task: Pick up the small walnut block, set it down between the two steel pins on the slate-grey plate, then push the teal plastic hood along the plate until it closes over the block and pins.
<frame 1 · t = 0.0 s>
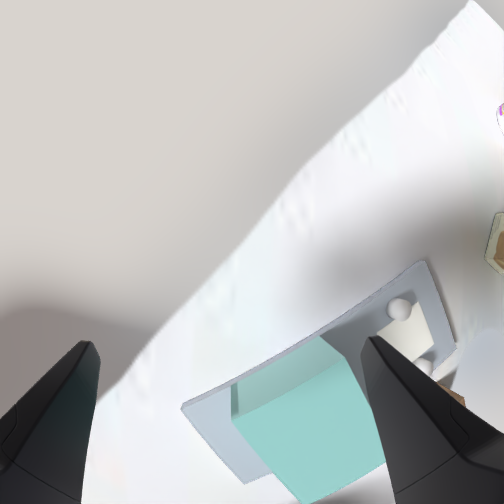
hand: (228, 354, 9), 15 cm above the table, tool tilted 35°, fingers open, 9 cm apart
skincare box: (496, 245, 26), on the table
pin plate: (335, 382, 24), on the table
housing: (313, 426, 19), point 4 cm above the table, slide at 11.0 cm
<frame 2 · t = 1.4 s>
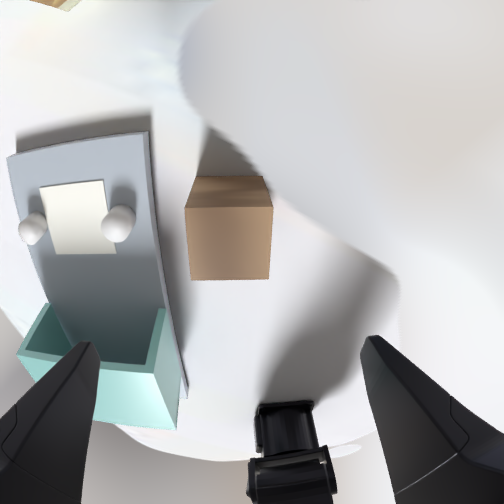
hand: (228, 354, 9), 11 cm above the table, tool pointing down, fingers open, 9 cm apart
pin plate: (106, 299, 22), on the table
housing: (104, 368, 20), point 4 cm above the table, slide at 11.0 cm
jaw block: (229, 206, 19), on the table
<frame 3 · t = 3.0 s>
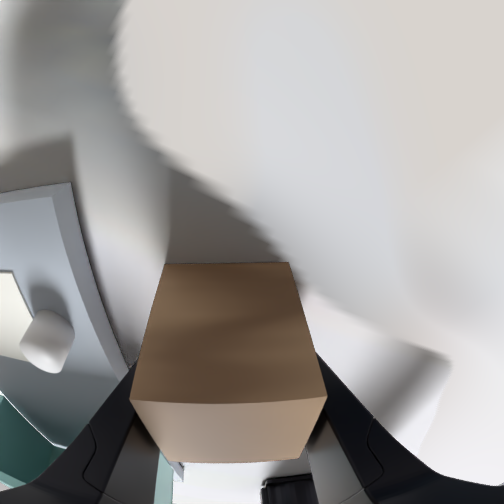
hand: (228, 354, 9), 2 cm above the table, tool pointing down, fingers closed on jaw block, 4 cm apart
pin plate: (68, 396, 14), on the table
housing: (78, 477, 12), point 4 cm above the table, slide at 11.0 cm
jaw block: (227, 310, 11), on the table, touching gripper
when the fingers open (4 cm above the table, at t = 5.7 s): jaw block drops 1 cm, resting on pin plate.
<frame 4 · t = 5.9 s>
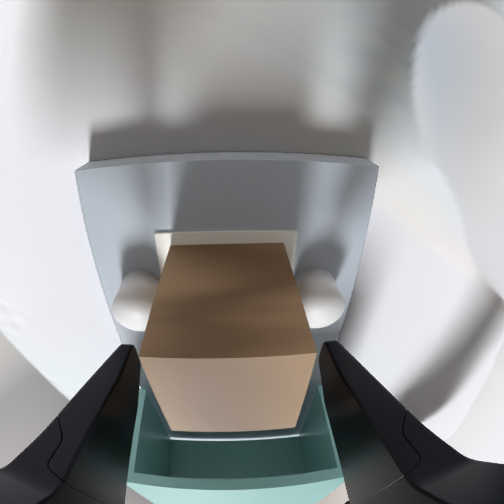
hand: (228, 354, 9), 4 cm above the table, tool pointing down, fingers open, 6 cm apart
pin plate: (231, 375, 16), on the table
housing: (235, 461, 15), point 4 cm above the table, slide at 11.0 cm
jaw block: (228, 289, 11), point 1 cm above the table, touching pin plate
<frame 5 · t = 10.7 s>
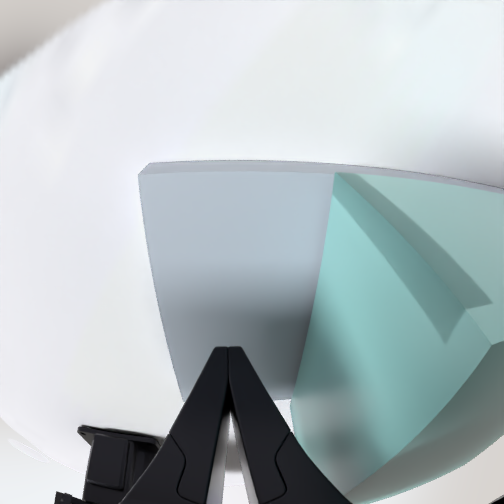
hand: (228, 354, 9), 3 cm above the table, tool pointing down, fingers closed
pin plate: (448, 289, 12), on the table
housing: (438, 375, 8), point 4 cm above the table, slide at 11.0 cm, touching gripper
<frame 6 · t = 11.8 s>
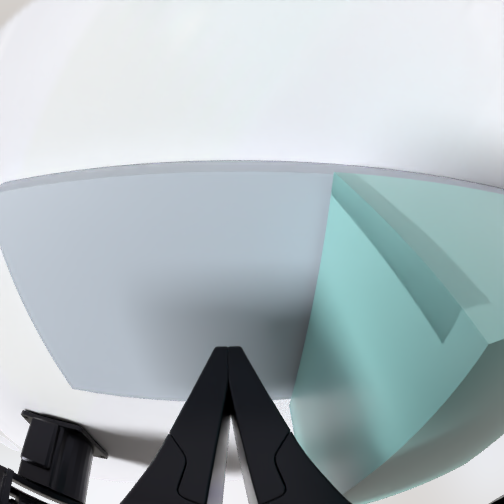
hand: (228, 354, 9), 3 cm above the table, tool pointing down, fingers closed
pin plate: (334, 298, 11), on the table
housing: (437, 375, 8), point 4 cm above the table, slide at 4.9 cm, touching gripper
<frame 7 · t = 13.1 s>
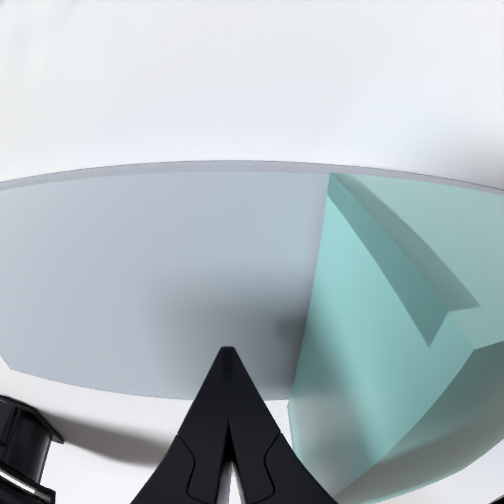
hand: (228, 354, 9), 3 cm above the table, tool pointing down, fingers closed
pin plate: (202, 301, 11), on the table
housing: (434, 379, 8), point 4 cm above the table, slide at -0.1 cm, touching gripper
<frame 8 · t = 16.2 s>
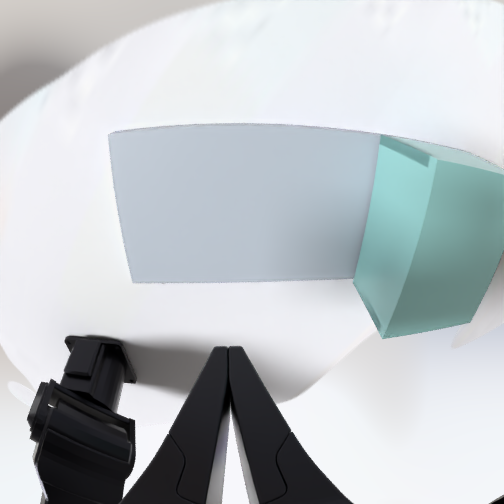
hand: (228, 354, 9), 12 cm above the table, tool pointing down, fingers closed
pin plate: (311, 205, 19), on the table
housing: (437, 236, 16), point 4 cm above the table, slide at 0.0 cm
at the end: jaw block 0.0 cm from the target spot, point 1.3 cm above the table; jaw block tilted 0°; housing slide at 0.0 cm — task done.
